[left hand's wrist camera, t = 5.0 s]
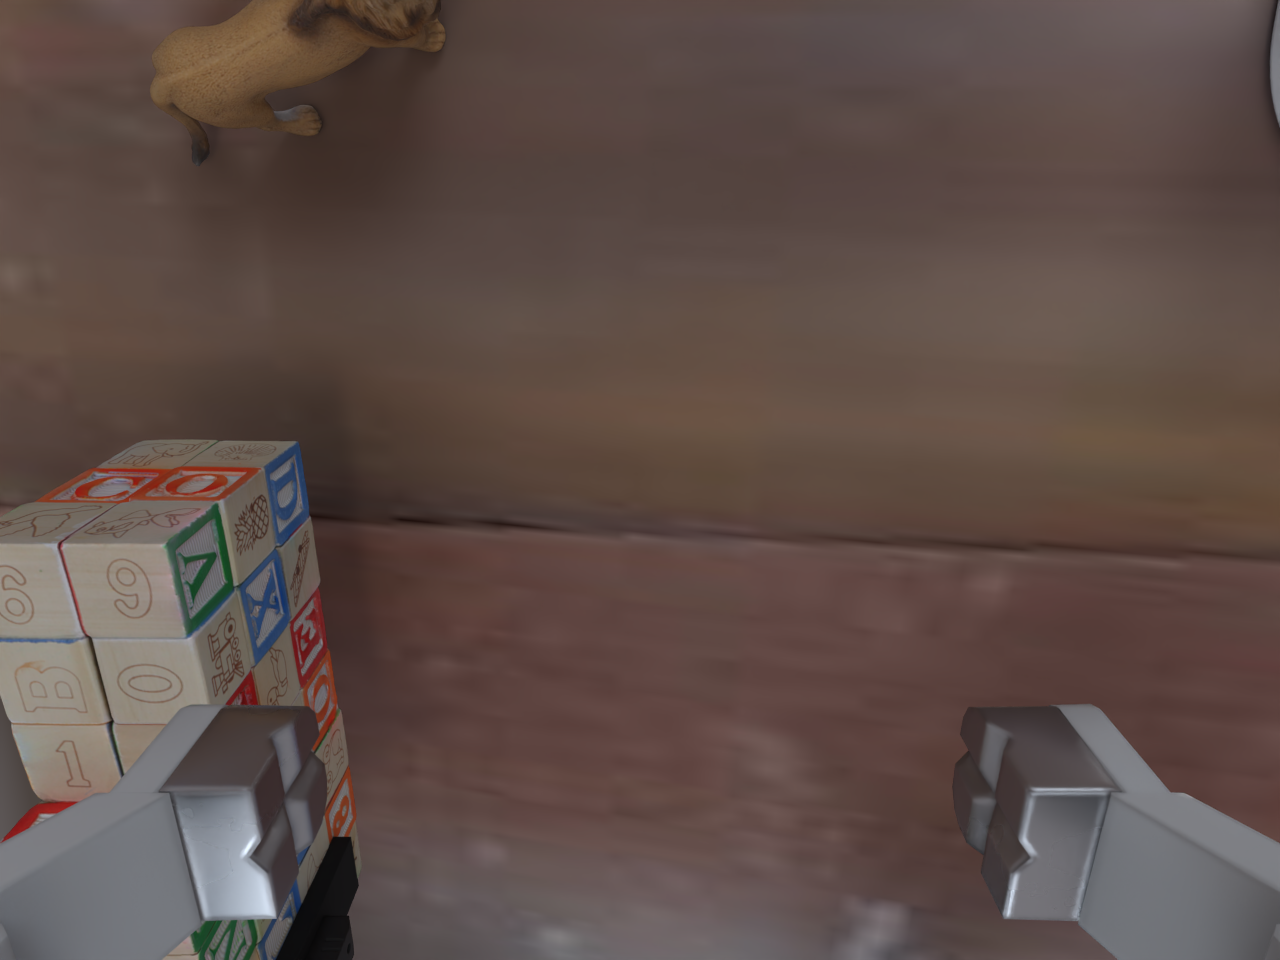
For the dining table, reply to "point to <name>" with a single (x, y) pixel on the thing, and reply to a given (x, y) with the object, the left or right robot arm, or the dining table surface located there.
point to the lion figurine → (277, 59)
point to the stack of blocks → (168, 630)
